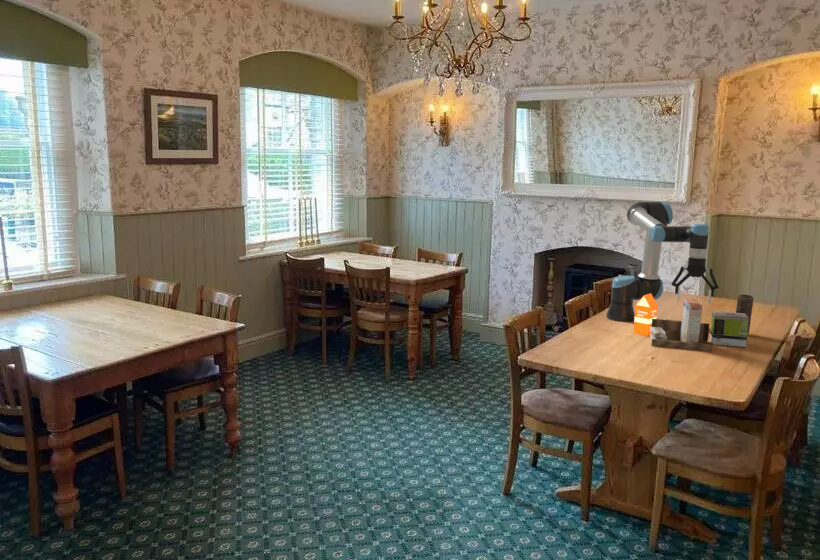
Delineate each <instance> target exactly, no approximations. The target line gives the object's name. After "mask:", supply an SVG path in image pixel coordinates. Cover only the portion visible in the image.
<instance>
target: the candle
mask: <svg viewBox="0 0 820 560" xmlns="http://www.w3.org/2000/svg"><path fill="white" fill-rule="evenodd" d="M754 300H755V299H754V297H753V296H752V295H749V294H738V295H737V300H736V301H737V302H736V306H735V308H736V309H735V313H745V314H746V315H747V316H748V317H749V322H748V334H749V333H750V329H751V320H752V312H753V307H754V306H753V305H754Z"/></svg>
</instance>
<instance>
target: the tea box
mask: <svg viewBox="0 0 820 560" xmlns="http://www.w3.org/2000/svg"><path fill="white" fill-rule="evenodd" d="M748 322H749V317H748V316H747V315H746V314H745V313H736V312H731V311H730V312H729V311H717V310H716V311H715V310H714V311H712V312H711V322H710V323H711V324H710V334H709V340H710V341H711V342H710V343H711V345H716V346H717V345H718V346H727V345H728V347H730V346H731V347H742V348H747V343H748V342H747V341H748V334H749V333H748Z"/></svg>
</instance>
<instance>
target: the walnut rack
mask: <svg viewBox="0 0 820 560" xmlns="http://www.w3.org/2000/svg"><path fill="white" fill-rule="evenodd" d="M681 324H682V320H672V319H671V320H670V319H662V318H659V319H658V318H656V319H652V327H661V328H662V329H663V330H664V332H665V333H666V336H667V340H659V339H652V340H651V346H652V347H659V346H660V347H661V348H669V347H670V348H671V349H679V348H682V349H681V350H689V349H692V350H691V351H700V350H701V352H710V351H711V352H712V348H713V344H712V343H711V344H708V341H709V335H710V334H709V331H710V323H709V322H708V323H706V322H701V323H700V332H699V341H698V343H690V342H681V341H680V333H681ZM669 339H670V340H669ZM700 342H701V343H700Z"/></svg>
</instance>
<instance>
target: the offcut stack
mask: <svg viewBox="0 0 820 560" xmlns="http://www.w3.org/2000/svg"><path fill="white" fill-rule="evenodd" d="M650 332H651V335H649V339H650V340H651V341H652V339H659V340H668V339H667V336H666V333H665V332H664V330H663V329H662V328H661V327H650Z"/></svg>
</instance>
